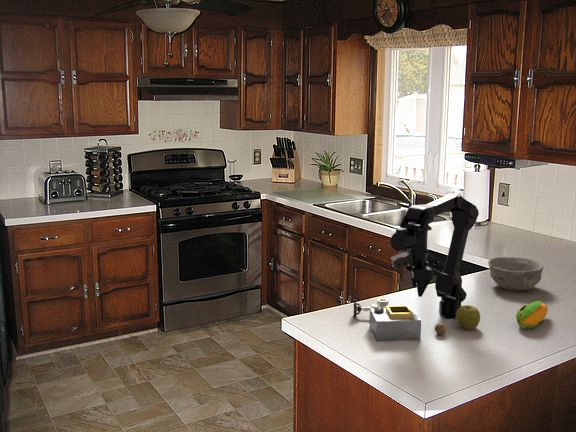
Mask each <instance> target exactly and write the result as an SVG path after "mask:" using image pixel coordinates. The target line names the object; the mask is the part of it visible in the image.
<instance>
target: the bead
mask: <svg viewBox="0 0 576 432" xmlns="http://www.w3.org/2000/svg"><path fill="white" fill-rule="evenodd" d="M447 330H448V328H447V325H446V324H445V323H443V322H438V323H436V325H435V326H434V332H435V333H436V334H437V335H438V336H443V335H445V334H446V333H447Z"/></svg>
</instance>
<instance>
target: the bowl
mask: <svg viewBox="0 0 576 432" xmlns="http://www.w3.org/2000/svg"><path fill="white" fill-rule="evenodd" d="M487 263H488V267H489V274H490V278H491V279H492V280H493V282H495V284H497V286H499V287H501V288H502V289H504V290H506V291H507V290H508V291H510V292H511V291H512V292H524V291H528V290H530V289H531V290H532V289H533V288H534V287H536V285H537V284H539V283H540V281H541V280H542V273H543V271H544V264H542V263H541V262H539V261H537V260H534V259H531V258H526V257H525V258H524V257H515V256H513V257H512V256H511V257H510V256H500V257H494V258H491V259H489V260H488V261H487Z"/></svg>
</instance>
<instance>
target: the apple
mask: <svg viewBox="0 0 576 432" xmlns="http://www.w3.org/2000/svg"><path fill="white" fill-rule="evenodd" d="M455 320H456V321H457V324H458V325H459V326H460V327H461V328H464V329H466V330H475V329H476V328H477V327H479V324H480V321H481V313H480V310H479V309H478V308H477V307H476V306H473V305H468V304H465V305H461V306H460V307H459V308H458V309H457V311H456V318H455Z"/></svg>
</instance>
